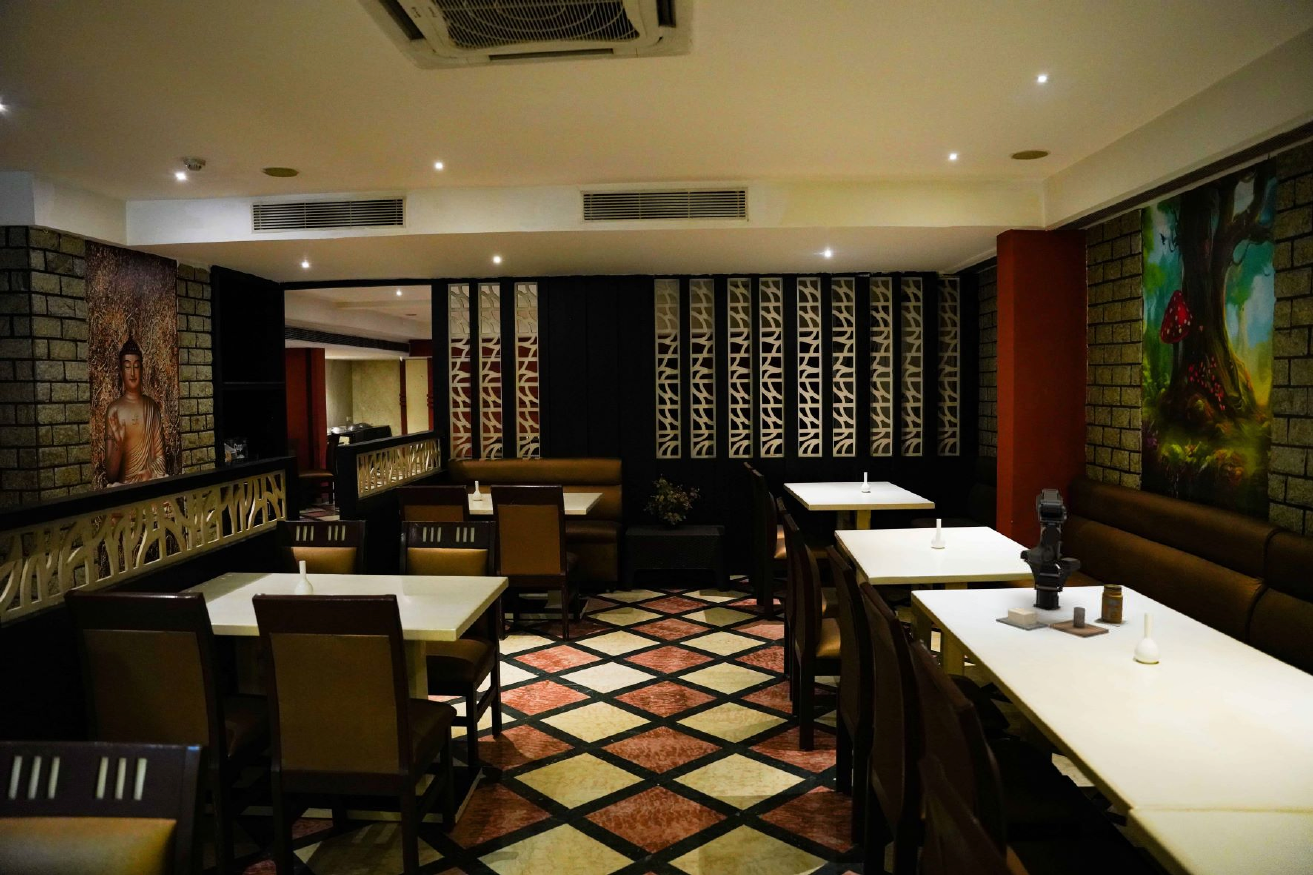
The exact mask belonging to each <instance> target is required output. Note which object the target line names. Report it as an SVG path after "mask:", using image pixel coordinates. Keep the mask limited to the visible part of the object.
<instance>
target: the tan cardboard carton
mask: <svg viewBox="0 0 1313 875" xmlns="http://www.w3.org/2000/svg"><path fill="white" fill-rule="evenodd" d="M1007 617H1008V621H1011V622H1014V623H1017V624H1021V625H1029V624H1033V623H1036V621H1037V611H1036V612H1035V611H1032V610H1029V609H1026V608H1023V607H1017V608H1012V609H1009V610H1007Z"/></svg>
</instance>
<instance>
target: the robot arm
mask: <svg viewBox="0 0 1313 875" xmlns="http://www.w3.org/2000/svg"><path fill="white" fill-rule="evenodd" d="M1063 503H1064V502H1063V496H1061V495H1060V494H1059V490H1058V489H1053V488H1044V489H1042V492H1041V493H1039V494H1038V495H1036V506H1035V509H1036V511H1037V512H1038V513H1037V514H1038V517H1037V518H1038V520H1037V521H1038V523H1039V524H1040V540H1038V541H1037V543H1036V547H1033V548H1030V549H1026V550H1025V549H1024V550H1022V551H1020V553H1019V554H1020V555H1019V557H1020V558H1019V559H1021V560H1023V562H1024V563H1025V564H1027V565H1028V567H1029V568H1030V571H1031V573H1032V577H1033V578H1034V579H1033V584H1034V585H1033V590H1034V591H1035V592H1036V593H1035V603H1034V604H1032V606H1033V607H1036V608H1040V609H1044V610H1046V611H1052V610H1057V609H1061V605H1059V604H1060V603H1059V602H1060V596H1059V593H1062V592H1064V591H1063V590H1064V587H1065V585H1066V583H1067V581H1068V579H1069V578H1070V576H1071V575H1072V573H1073V572H1074V571H1077V570H1079V569H1081V562H1080V560H1079V559H1076V558H1071V557H1065V558H1063V554H1061V553H1060V550H1061V549H1060V548H1061V546H1063V541H1061V539H1062V532H1061V525H1065V522H1067V508H1066V506H1065V505H1064V504H1063Z"/></svg>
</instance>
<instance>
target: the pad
mask: <svg viewBox="0 0 1313 875" xmlns="http://www.w3.org/2000/svg"><path fill="white" fill-rule="evenodd" d="M995 621H996V622H998V623H1001V624H1005V625H1009V626H1012V627H1014V626H1015V627H1014V628H1018V629H1021V628H1022V629H1021V630H1024V629H1025V631H1027V632H1028V631H1029V632H1030V631H1033V629H1034V630H1037V628H1039V629H1042V628H1047V626H1048V627H1049V625H1050V624H1047V623H1045V622H1041V621H1039V620H1038V621H1037V620H1036V623H1033V624H1029V625H1021V624H1017V623H1014V622H1011V621H1008V616H1005V617H999V618H995Z"/></svg>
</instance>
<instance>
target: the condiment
mask: <svg viewBox="0 0 1313 875" xmlns="http://www.w3.org/2000/svg"><path fill="white" fill-rule="evenodd" d="M1122 593H1123V587H1122V586H1121V585H1117V584H1112V583H1111V584H1110V583H1106V584H1104V586H1103V592H1102V593H1101V609H1100V610H1101V611H1100V617H1099V618H1097V619H1095V620H1094V622H1095V623H1099V624H1102V625H1103V624H1104V625H1109V626H1113V627H1114V626H1115V627H1119V626H1122V625H1124V624H1125V623H1126V622H1127V620H1124V619H1123V604H1124V595H1123V594H1122Z"/></svg>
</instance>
